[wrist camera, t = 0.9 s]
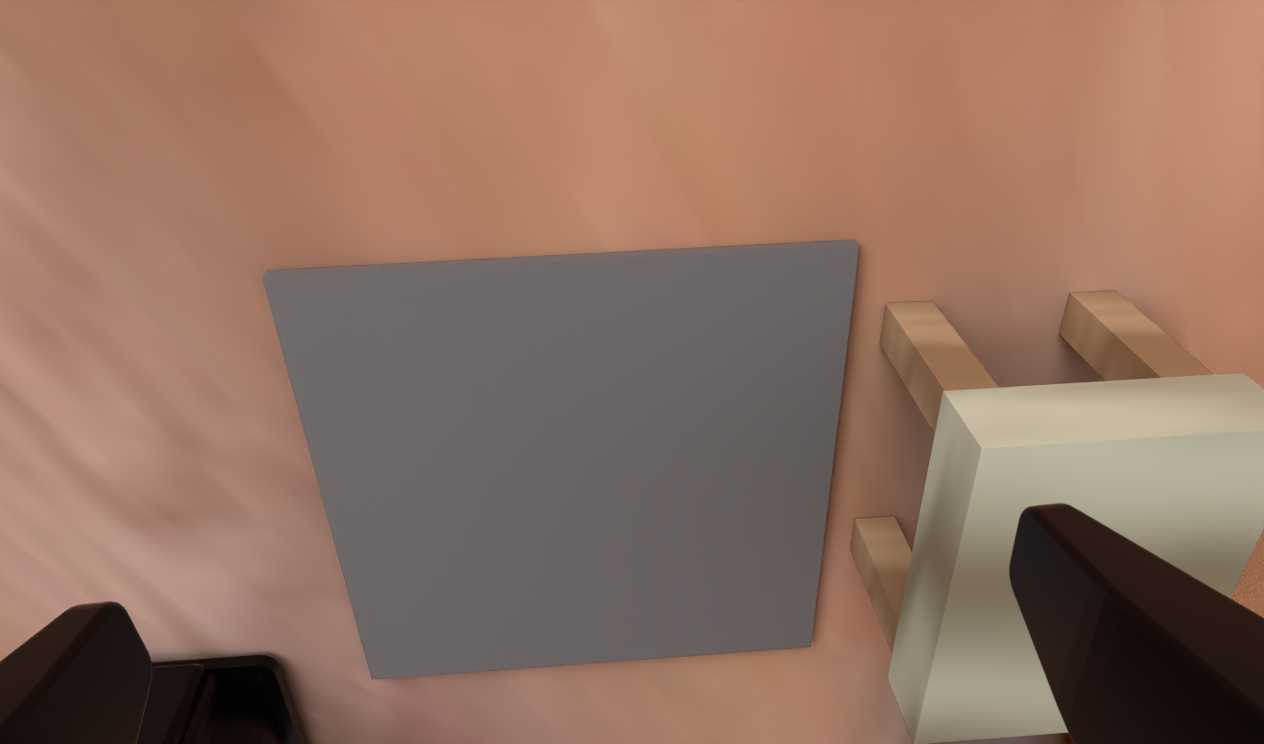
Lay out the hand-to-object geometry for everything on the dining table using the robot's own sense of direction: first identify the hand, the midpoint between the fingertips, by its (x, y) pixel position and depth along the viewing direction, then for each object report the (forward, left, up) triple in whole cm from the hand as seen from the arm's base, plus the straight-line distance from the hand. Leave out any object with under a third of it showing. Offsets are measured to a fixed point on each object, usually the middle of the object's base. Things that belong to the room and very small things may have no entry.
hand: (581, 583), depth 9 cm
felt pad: (-9, 0, -13) cm, 16 cm away
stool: (-8, -11, -13) cm, 19 cm away
